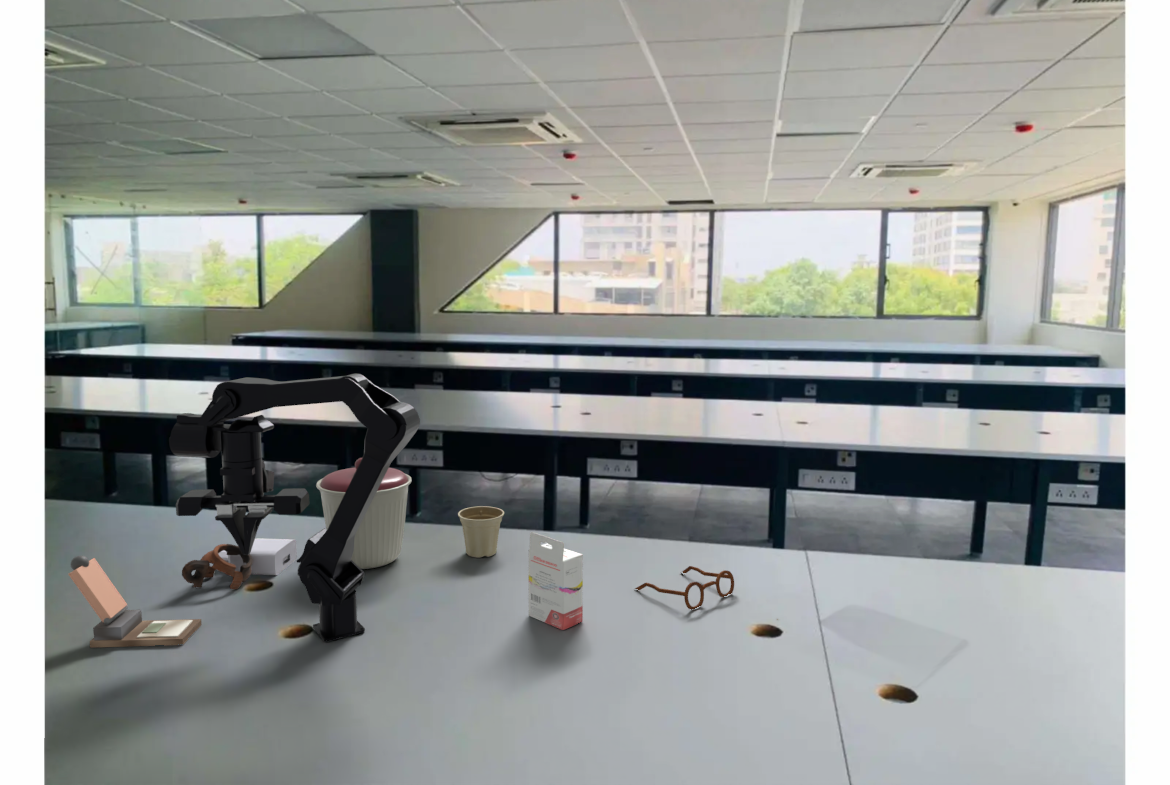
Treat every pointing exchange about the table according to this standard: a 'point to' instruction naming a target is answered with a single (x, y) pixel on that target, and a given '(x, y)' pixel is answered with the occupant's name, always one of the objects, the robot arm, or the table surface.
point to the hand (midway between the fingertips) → (246, 553)
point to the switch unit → (142, 631)
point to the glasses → (685, 594)
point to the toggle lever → (97, 588)
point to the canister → (371, 515)
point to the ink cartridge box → (555, 582)
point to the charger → (266, 556)
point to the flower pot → (481, 529)
